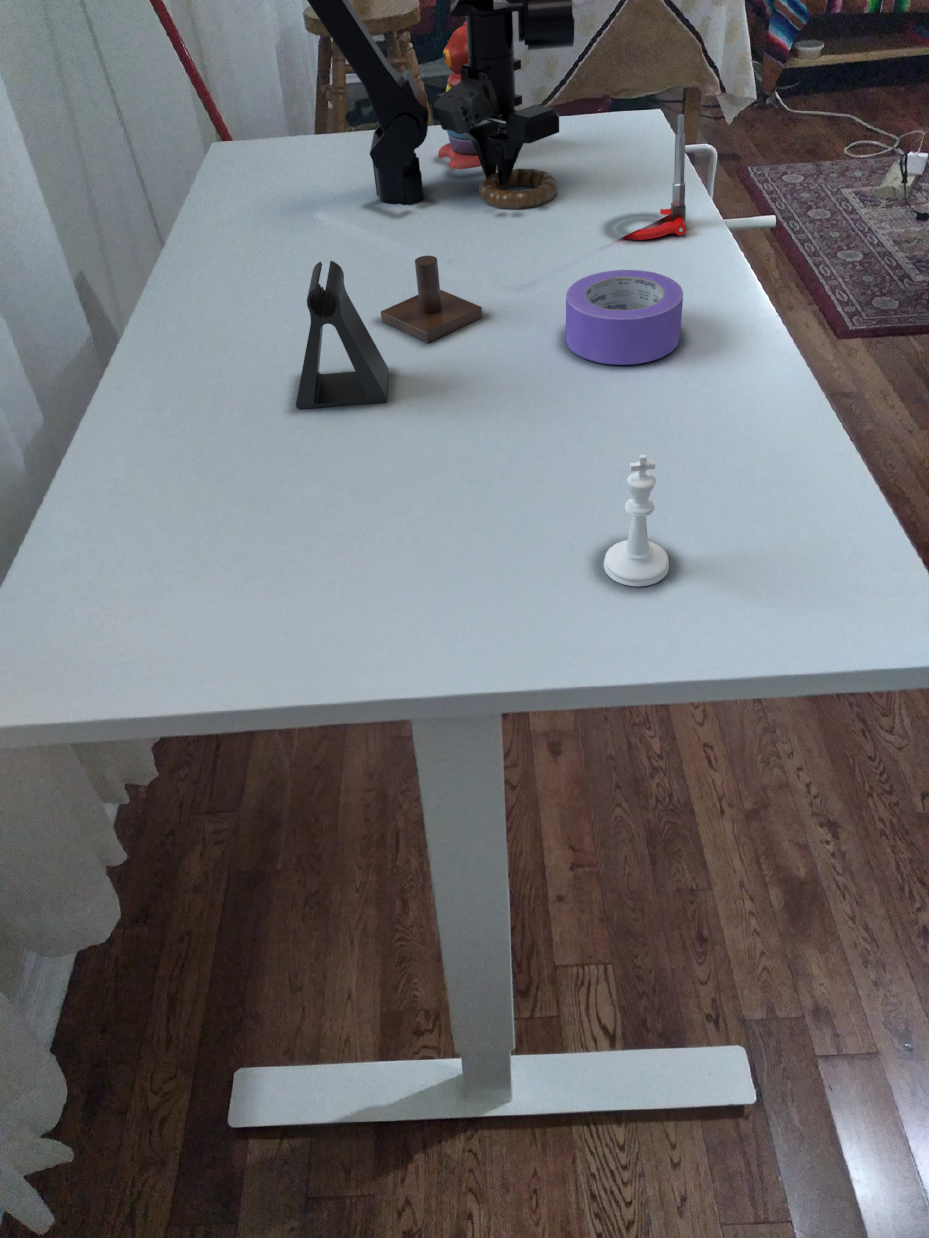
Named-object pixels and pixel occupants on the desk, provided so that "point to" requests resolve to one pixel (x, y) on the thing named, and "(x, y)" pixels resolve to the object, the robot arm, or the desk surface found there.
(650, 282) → the tape roll
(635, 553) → the chess piece
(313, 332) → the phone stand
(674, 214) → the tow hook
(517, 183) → the ring
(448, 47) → the stacking bear
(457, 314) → the post
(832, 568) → the desk surface
